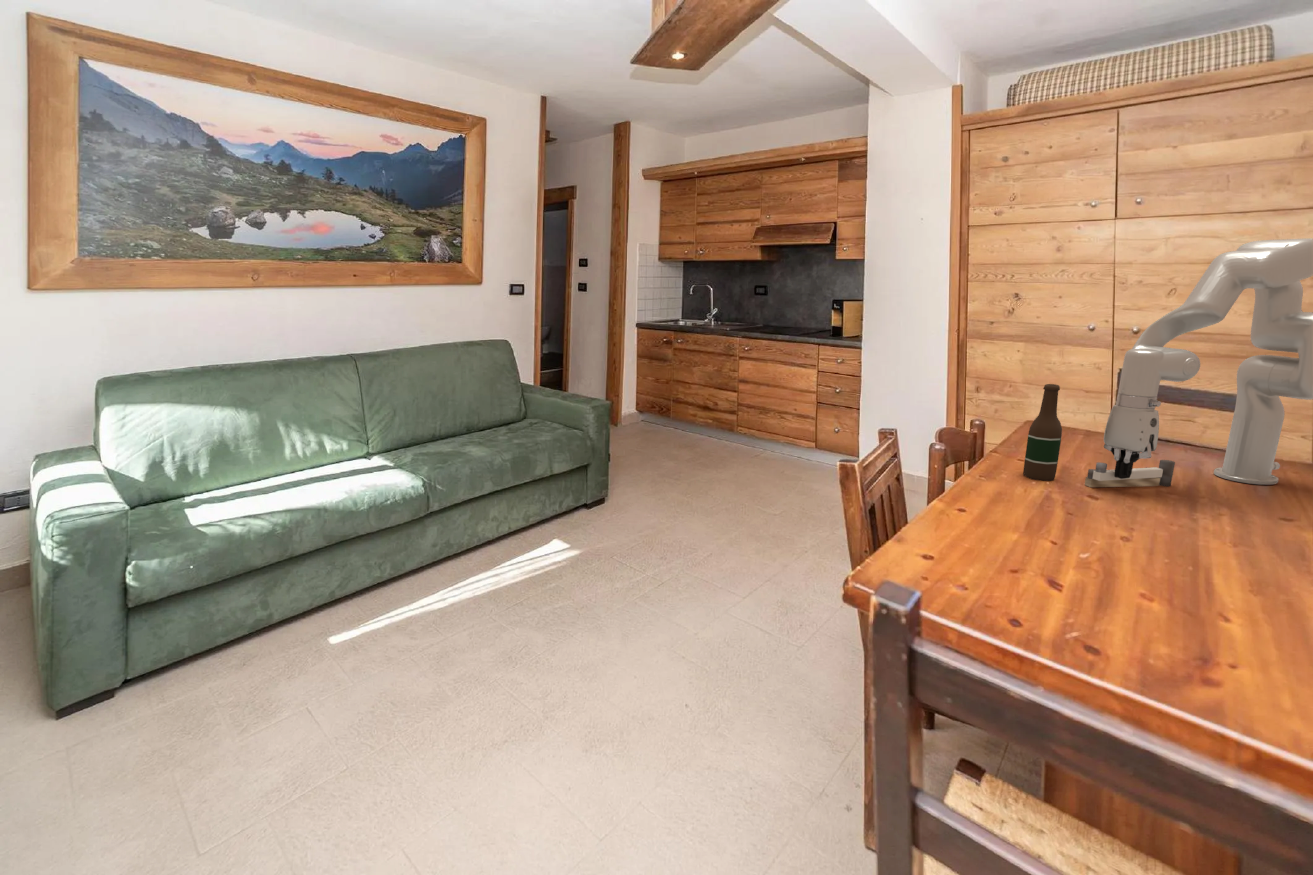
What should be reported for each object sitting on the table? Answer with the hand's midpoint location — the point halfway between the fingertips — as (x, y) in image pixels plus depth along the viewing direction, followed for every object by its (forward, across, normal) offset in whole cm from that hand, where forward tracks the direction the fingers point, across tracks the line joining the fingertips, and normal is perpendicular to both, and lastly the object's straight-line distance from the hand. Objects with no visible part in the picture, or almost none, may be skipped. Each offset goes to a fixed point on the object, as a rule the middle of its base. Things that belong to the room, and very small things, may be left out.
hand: (1122, 477), depth 161 cm
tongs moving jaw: (+1, +2, -5) cm, 5 cm away
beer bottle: (+4, +15, +8) cm, 18 cm away
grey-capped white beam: (+3, +3, -7) cm, 8 cm away
